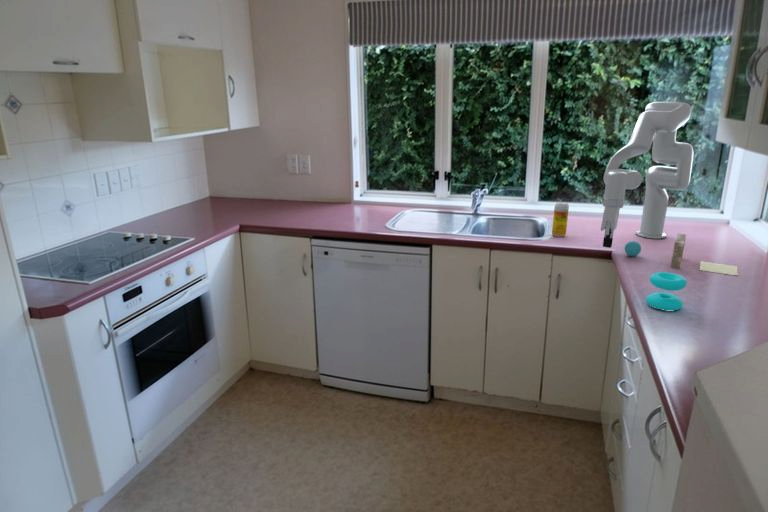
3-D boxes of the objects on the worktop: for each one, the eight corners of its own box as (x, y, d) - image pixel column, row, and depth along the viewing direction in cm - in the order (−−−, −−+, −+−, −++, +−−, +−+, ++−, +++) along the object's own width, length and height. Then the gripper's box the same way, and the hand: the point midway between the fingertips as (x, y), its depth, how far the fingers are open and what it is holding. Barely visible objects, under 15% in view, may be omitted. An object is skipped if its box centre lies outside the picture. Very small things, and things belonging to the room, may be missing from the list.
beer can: (556, 237, 240) (560, 205, 235) (549, 234, 246) (552, 202, 241) (568, 236, 242) (571, 204, 237) (560, 233, 247) (564, 201, 243)
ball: (624, 252, 218) (626, 238, 216) (640, 255, 215) (643, 240, 213) (622, 256, 213) (624, 242, 211) (638, 259, 210) (641, 244, 208)
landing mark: (700, 261, 207) (700, 261, 207) (737, 266, 201) (737, 266, 201) (699, 270, 197) (699, 269, 197) (737, 276, 191) (737, 275, 191)
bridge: (670, 267, 201) (674, 242, 198) (673, 256, 213) (677, 233, 210) (679, 268, 199) (683, 243, 196) (682, 257, 212) (686, 234, 209)
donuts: (680, 271, 166) (692, 283, 156) (675, 301, 169) (686, 314, 159) (646, 270, 167) (656, 280, 158) (641, 299, 170) (651, 311, 161)
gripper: (606, 198, 220) (600, 241, 226) (599, 204, 208) (593, 249, 214) (626, 200, 217) (619, 244, 222) (620, 207, 205) (613, 252, 210)
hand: (607, 246), depth 218 cm, fingers closed
